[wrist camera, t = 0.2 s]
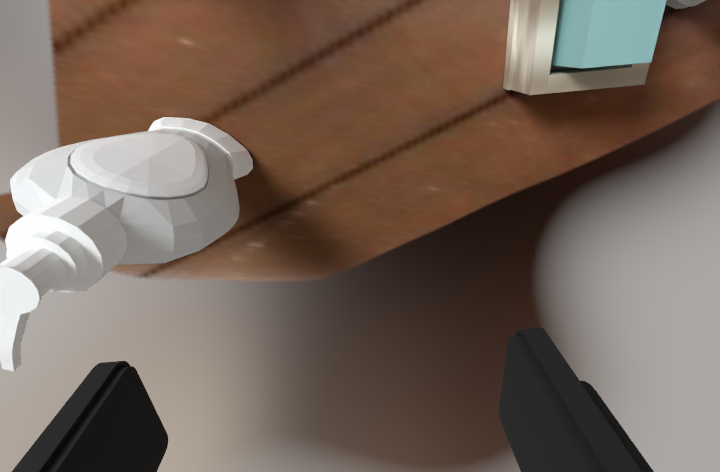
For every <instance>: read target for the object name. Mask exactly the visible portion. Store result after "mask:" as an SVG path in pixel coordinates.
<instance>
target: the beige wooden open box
mask: <svg viewBox="0 0 720 472" xmlns="http://www.w3.org/2000/svg"><path fill="white" fill-rule="evenodd" d="M559 1H560V0H511V2H510V14H509V26H508V38H507V49H506V61H505V73H504V85H503V89H506V90H514V91H517V92H521V93H524V94H528V95H537V94H548V93H559V92H569V91H580V90H591V89H602V88H613V87H623V86H634V85H645V81H646V77H647V73H648V69H649V65H650V62H646V63H635V64H625V65H614V66H603V67H593V68H573V67H564V66H554V65H551V60H552V53H553V46H554V38H555V31H556V23H557V16H558V9H559Z"/></svg>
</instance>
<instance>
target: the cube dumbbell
mask: <svg viewBox="0 0 720 472" xmlns="http://www.w3.org/2000/svg"><path fill="white" fill-rule="evenodd" d="M666 1H667V0H560V1H559V9H558V16H557V23H556V31H555V38H554V46H553V53H552V60H551V65H554V66H564V67H573V68H593V67H603V66H614V65H625V64H635V63H646V62H652V57H653V53H654V49H655V45H656V41H657V37H658V33H659V29H660V25H661V21H662V17H663V13H664V9H665V5H666Z"/></svg>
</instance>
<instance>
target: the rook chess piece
mask: <svg viewBox="0 0 720 472" xmlns="http://www.w3.org/2000/svg"><path fill="white" fill-rule="evenodd" d="M704 1H706V0H667V1H666V4H667V6H670V7H672V8H674V9H682V8H687V7H692V6H696V5H698V4H700V3H702V2H704Z"/></svg>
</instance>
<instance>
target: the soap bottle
mask: <svg viewBox="0 0 720 472" xmlns="http://www.w3.org/2000/svg"><path fill="white" fill-rule="evenodd" d="M252 169H253V159H252V157H251V156H250V154H249V152H248V150H247V149H246V148H244V147H243V146H242V145H241V144H240V143H238V142H237V141H236V140H235V139H234V138H232V137H231V136H230V135H229V134H227V133H225V132H223V131H222V130H220V129H218V128H216V127H215V126H213V125H211V124H209V123H205V122H201V121H197V120H193V119H189V118H173V117H163V118H161V119H158V120H156V121H154V122H153V124H152V125H151V127H150V128H149V130H148V131H146V132H139V133H133V134H126V135H119V136H113V137H107V138H101V139H94V140H89V141H85V142H80V143H76V144H72V145H67V146H63V147H60V148H57V149H54V150H51V151H48V152H46V153H44V154H42V155H40V156H38V157H36V158H34V159H32V160H31V161H30V162H28V163H27V164H26V165H25V166H24V167H22V168H21V169H20V170H19V171H17V172H16V173H15V174H14V176H13V177H12V179H11V180H10V185H11V191H12V197H13V201H14V204H15V207H16V209H17V211H18V212H19V213H20V214H22V215H23V217H22V218H20V219H19V220H18V221H16V222H15V223H14V224H13V225H11V226H10V227H9V230H8V233H7V236H6V239H5V242H6V246H7V254H6V256H7V259H6V260H5V261H3V262H2V263H0V362H1V366H2V369H6V370H10V371H15V370H16V368H17V367H18V366H19V365H20V364H21V354H20V348H21V341H22V336H23V333H24V330H25V327H26V323H27V320H28V317H29V313H30V311H32V310H33V309H34V308H36V307H37V306H38V305H39V303H40V300H41V297H42V296H43V295H44V294H45V293H46V292H48V291H51V292H57V291H61V292H68V293H73V292H78V291H83V290H87V289H88V288H90V287H91V286H93V285H94V284H96V283H97V282H98V281H99V280H100V279H101V278H103V277H104V275H106V274H107V273H108V272H109V271H110V270H111V269H112V268H113V267H114V266H115V265H119V264H147V263H166V262H168V261H171V260H174V259H177V258H180V257H183V256H185V255H188V254H191V253H194V252H197V251H199V250H201V249H203V248H204V247H206V246H207V245H209V244H210V243H212V242H213V241H215V240H216V239H218V238H219V237H221V236H222V235H224V234H225V233H226V232H227V231H228V230H229V229H230V228H232V227H233V226H234V224H235V223H236V221H237V219H238V218H239V209H240V208H239V201H238V194H237V189H236V185H235V181H234V180H235V179H238V178H240V177H243V176H245V175H248V174H249V173H250V171H251V170H252Z"/></svg>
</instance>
